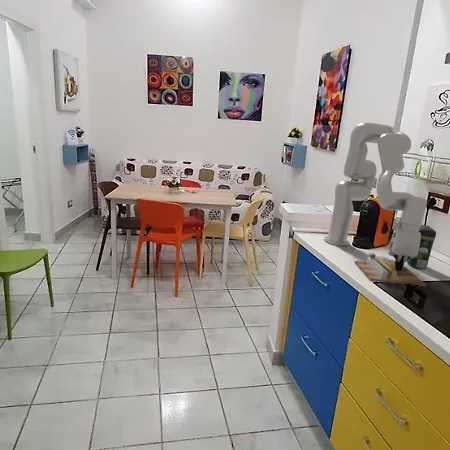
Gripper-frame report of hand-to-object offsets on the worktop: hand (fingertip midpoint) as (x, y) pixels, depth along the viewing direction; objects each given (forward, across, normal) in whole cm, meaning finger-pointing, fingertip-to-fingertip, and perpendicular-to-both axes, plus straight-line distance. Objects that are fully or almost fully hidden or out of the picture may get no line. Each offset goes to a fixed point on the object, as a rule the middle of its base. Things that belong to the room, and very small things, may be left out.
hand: (397, 269), depth 145 cm
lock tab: (+1, -4, 0) cm, 4 cm away
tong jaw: (+1, -7, -3) cm, 8 cm away
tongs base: (+1, -9, -2) cm, 10 cm away
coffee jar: (+2, +15, +14) cm, 21 cm away
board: (+2, -4, -1) cm, 5 cm away
